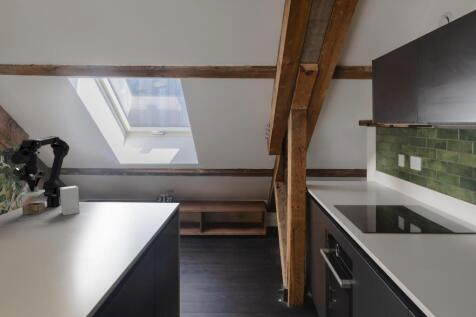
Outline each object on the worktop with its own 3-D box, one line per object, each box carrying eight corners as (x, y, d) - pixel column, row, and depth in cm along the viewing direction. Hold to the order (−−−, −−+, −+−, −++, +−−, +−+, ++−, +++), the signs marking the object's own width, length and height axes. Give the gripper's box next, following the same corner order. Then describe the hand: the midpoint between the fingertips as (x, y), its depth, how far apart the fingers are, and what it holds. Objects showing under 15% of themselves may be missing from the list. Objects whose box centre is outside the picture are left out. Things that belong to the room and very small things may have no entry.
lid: (45, 193, 180) (44, 185, 179) (38, 196, 171) (38, 188, 171) (27, 193, 178) (27, 185, 177) (20, 197, 169) (20, 188, 169)
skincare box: (77, 211, 182) (76, 185, 180) (80, 213, 177) (79, 186, 176) (60, 213, 177) (59, 186, 175) (63, 215, 172) (61, 188, 171)
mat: (53, 211, 180) (52, 211, 180) (41, 220, 164) (41, 219, 164) (31, 212, 178) (31, 212, 178) (17, 221, 162) (17, 220, 162)
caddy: (45, 210, 180) (44, 202, 180) (39, 214, 172) (38, 205, 172) (29, 211, 179) (28, 202, 178) (22, 215, 171) (22, 206, 170)
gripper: (22, 161, 180) (24, 188, 182) (5, 164, 162) (7, 195, 164) (44, 160, 183) (45, 187, 184) (30, 164, 164) (31, 194, 166)
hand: (33, 191), depth 174 cm, fingers closed on lid, 2 cm apart
